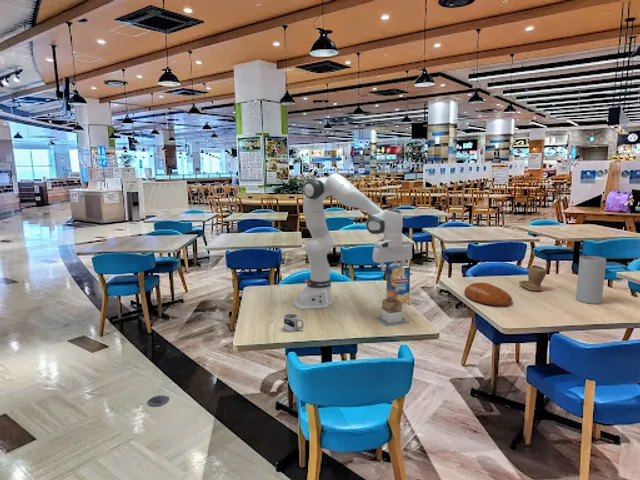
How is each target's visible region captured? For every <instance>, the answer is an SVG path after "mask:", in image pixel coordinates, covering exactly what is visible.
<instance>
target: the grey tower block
mask: <svg viewBox="0 0 640 480" xmlns="http://www.w3.org/2000/svg"><path fill="white" fill-rule="evenodd" d="M402 313H403V312H396V313H388V312H386V311H385V310H383V309H382V308H381V314H382V315H381V316H382V319H384V320H385V321H386V322H388V323H394V322H400V321H402V318H403V317H402Z"/></svg>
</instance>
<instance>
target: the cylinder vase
mask: <svg viewBox="0 0 640 480" xmlns="http://www.w3.org/2000/svg"><path fill="white" fill-rule="evenodd" d="M606 265H607V258H605V257H602V256H596V255H580V256H579V262H578V274H577V284H576V292H575V295H576V296H575V300H577V301H578V302H581V303H583V304H584V303H585V304H590V305H598V304H601V303H602V302H603V296H604V295H603V293H604V285H605V284H604V283H605V275H606V267H607V266H606Z"/></svg>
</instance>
